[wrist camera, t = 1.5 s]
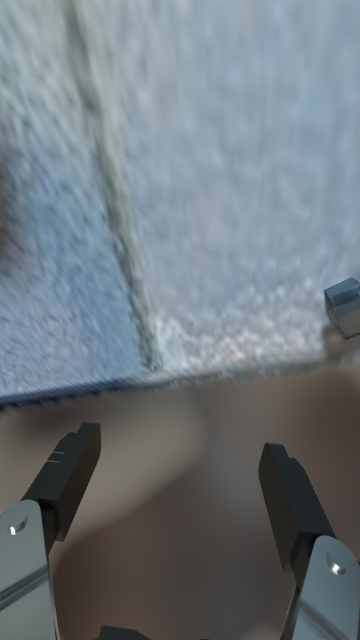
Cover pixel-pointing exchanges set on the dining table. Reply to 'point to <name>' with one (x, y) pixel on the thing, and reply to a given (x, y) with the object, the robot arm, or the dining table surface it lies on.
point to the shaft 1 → (345, 307)
